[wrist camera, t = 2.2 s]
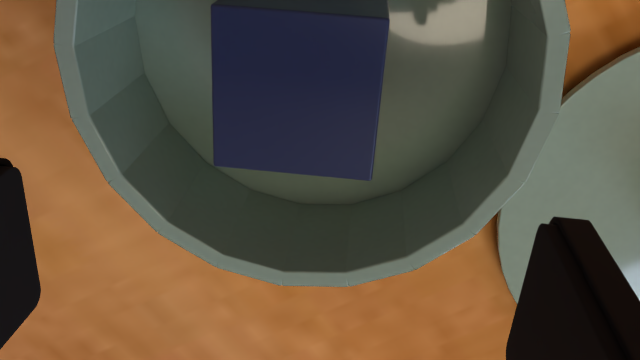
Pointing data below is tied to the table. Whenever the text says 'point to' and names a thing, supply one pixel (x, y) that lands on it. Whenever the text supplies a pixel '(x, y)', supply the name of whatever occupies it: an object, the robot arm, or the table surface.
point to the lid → (584, 173)
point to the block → (298, 85)
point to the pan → (306, 190)
